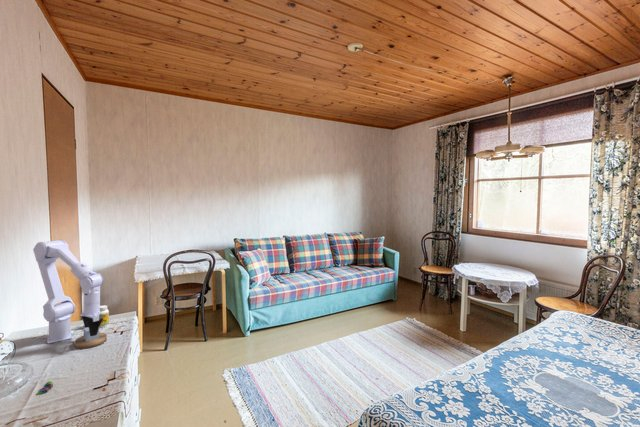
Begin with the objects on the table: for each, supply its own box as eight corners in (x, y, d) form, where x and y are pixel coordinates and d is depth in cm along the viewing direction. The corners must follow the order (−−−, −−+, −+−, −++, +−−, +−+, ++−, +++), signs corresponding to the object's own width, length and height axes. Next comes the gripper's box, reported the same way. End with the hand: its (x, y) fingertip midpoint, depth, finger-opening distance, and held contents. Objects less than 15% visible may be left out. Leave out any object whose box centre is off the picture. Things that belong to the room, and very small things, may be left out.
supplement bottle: (109, 322, 149) (109, 304, 149) (108, 326, 144) (108, 307, 144) (95, 324, 146) (96, 305, 146) (94, 328, 142) (95, 309, 141)
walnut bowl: (73, 341, 128) (73, 337, 128) (104, 334, 136) (104, 330, 136) (75, 351, 120) (75, 347, 120) (108, 343, 128) (108, 339, 128)
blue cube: (83, 338, 128) (83, 328, 127) (95, 334, 131) (96, 325, 131) (86, 341, 125) (86, 331, 125) (98, 338, 128) (99, 328, 128)
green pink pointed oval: (42, 388, 98) (42, 382, 97) (52, 387, 98) (52, 381, 98) (34, 397, 93) (34, 389, 93) (44, 396, 94) (44, 388, 94)
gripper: (76, 300, 129) (75, 330, 129) (84, 308, 120) (84, 341, 120) (95, 296, 134) (94, 325, 135) (105, 304, 125) (104, 335, 126)
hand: (91, 332), depth 128 cm, fingers open, 7 cm apart
